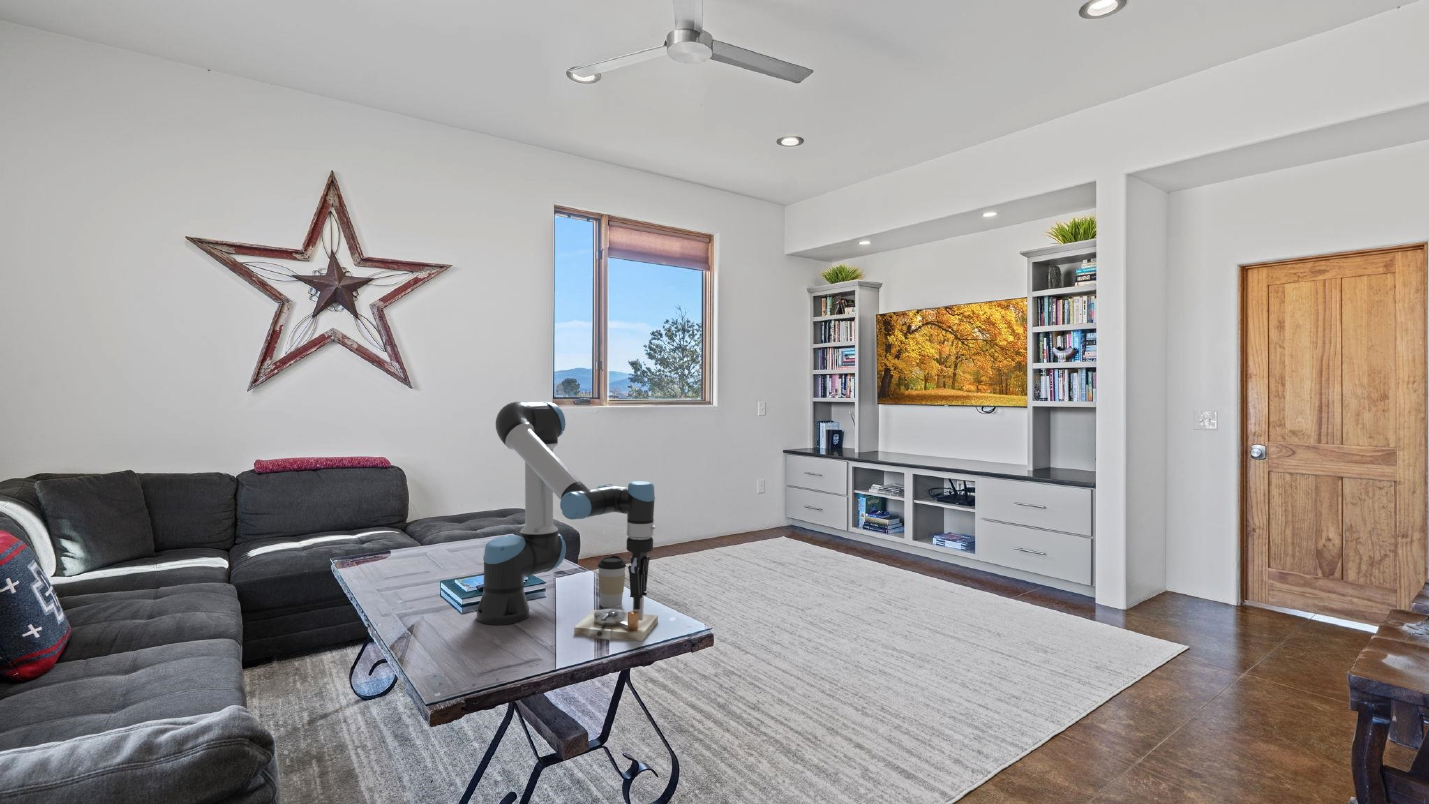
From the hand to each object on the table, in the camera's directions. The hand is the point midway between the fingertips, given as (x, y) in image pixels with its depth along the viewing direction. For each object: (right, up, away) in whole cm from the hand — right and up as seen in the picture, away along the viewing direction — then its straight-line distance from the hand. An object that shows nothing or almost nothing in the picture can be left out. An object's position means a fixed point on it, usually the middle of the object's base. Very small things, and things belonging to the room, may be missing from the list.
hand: (637, 619), depth 194 cm
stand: (-7, -4, +5) cm, 9 cm away
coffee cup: (-12, -4, +26) cm, 29 cm away
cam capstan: (-6, -2, +2) cm, 7 cm away
